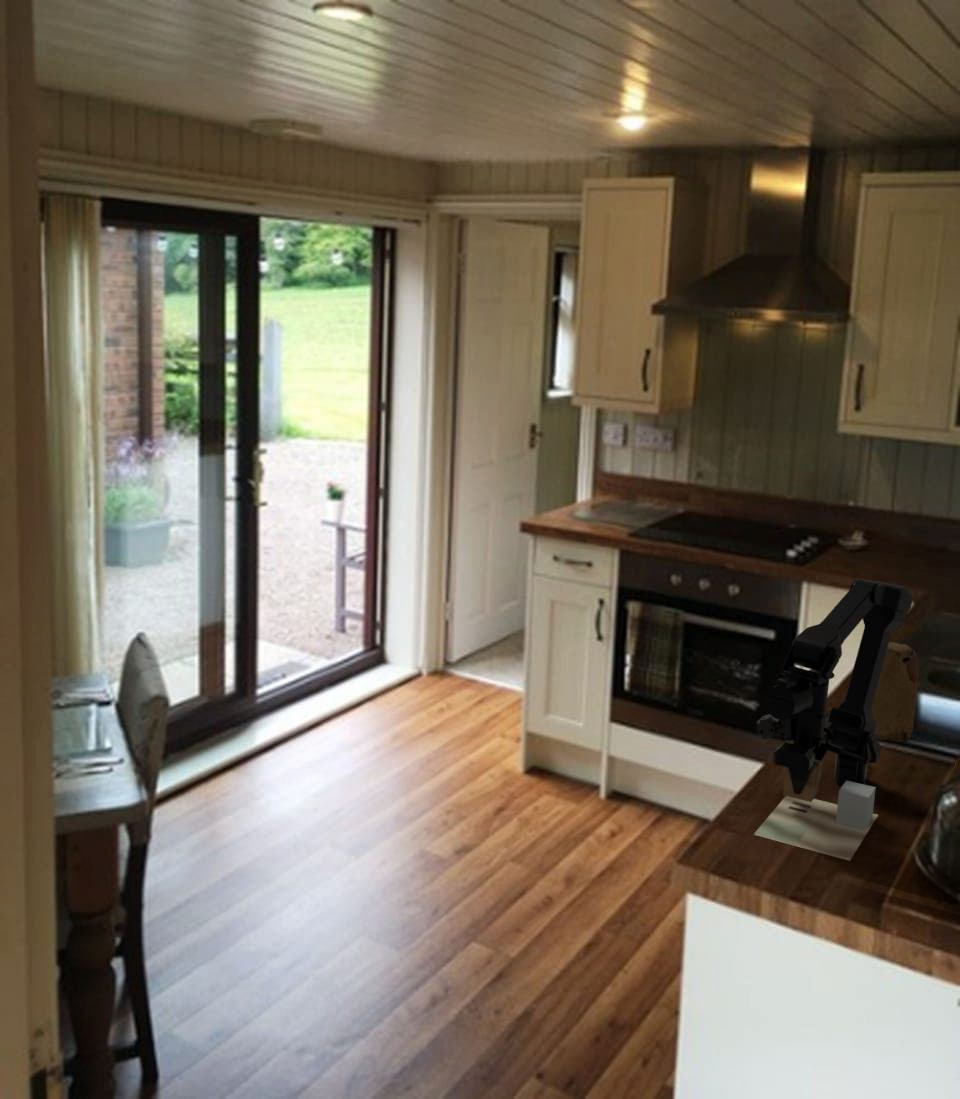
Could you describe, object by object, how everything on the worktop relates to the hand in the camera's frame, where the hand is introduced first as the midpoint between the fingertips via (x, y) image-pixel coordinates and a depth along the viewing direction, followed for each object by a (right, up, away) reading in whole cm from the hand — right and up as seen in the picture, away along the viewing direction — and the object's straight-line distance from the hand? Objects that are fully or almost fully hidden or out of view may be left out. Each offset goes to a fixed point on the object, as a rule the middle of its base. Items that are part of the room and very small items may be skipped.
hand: (801, 788), depth 202 cm
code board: (+1, -6, -5) cm, 8 cm away
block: (+28, +3, +38) cm, 48 cm away
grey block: (+8, -5, -4) cm, 10 cm away
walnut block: (0, -1, 0) cm, 1 cm away
